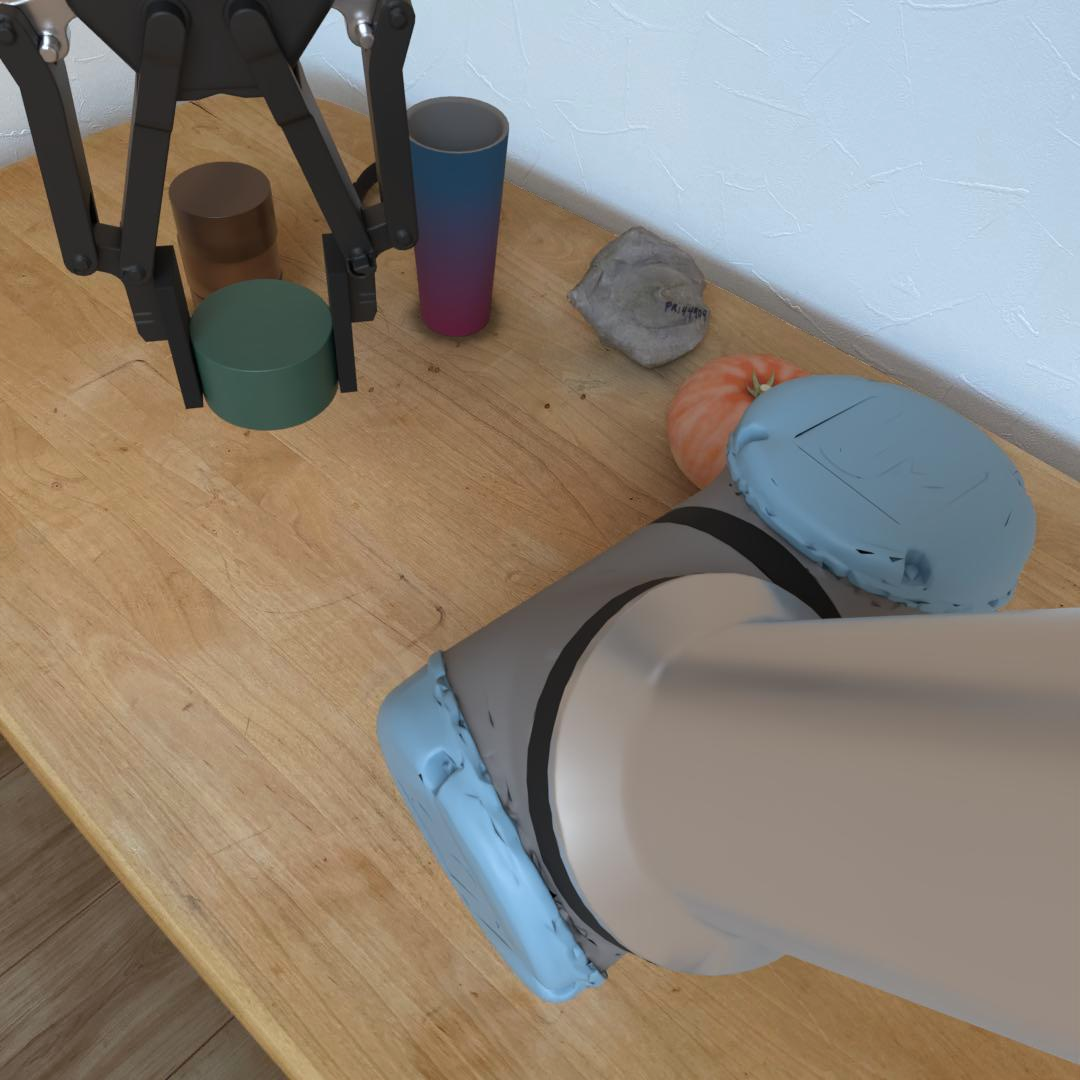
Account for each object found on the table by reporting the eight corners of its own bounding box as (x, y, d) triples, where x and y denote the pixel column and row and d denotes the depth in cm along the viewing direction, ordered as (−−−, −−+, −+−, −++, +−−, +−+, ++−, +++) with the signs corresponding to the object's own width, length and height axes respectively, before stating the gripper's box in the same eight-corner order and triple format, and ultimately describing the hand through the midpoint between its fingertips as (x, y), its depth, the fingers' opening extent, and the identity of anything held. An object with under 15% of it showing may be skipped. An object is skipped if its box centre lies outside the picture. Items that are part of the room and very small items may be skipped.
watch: (409, 141, 85) (433, 179, 87) (364, 157, 87) (388, 193, 90) (377, 201, 81) (402, 238, 83) (330, 215, 83) (356, 251, 86)
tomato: (836, 538, 66) (875, 449, 60) (665, 533, 66) (686, 442, 60) (807, 417, 73) (840, 326, 67) (652, 411, 73) (670, 319, 67)
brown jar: (307, 300, 78) (289, 172, 70) (264, 356, 74) (240, 226, 66) (224, 278, 79) (197, 149, 71) (177, 332, 75) (143, 201, 67)
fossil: (619, 408, 73) (634, 315, 67) (534, 338, 77) (541, 245, 71) (730, 344, 78) (753, 252, 72) (644, 282, 82) (659, 190, 76)
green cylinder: (359, 358, 49) (355, 298, 47) (304, 446, 46) (295, 386, 43) (241, 326, 50) (230, 265, 47) (177, 410, 46) (161, 349, 44)
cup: (435, 355, 75) (430, 163, 64) (393, 301, 79) (382, 109, 67) (518, 328, 78) (529, 137, 66) (474, 276, 81) (477, 87, 70)
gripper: (474, -271, 34) (464, 307, 52) (-184, -281, 30) (51, 344, 48) (524, -185, 29) (494, 415, 47) (-242, -185, 26) (41, 465, 44)
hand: (270, 378), depth 48 cm, fingers closed on green cylinder, 6 cm apart
